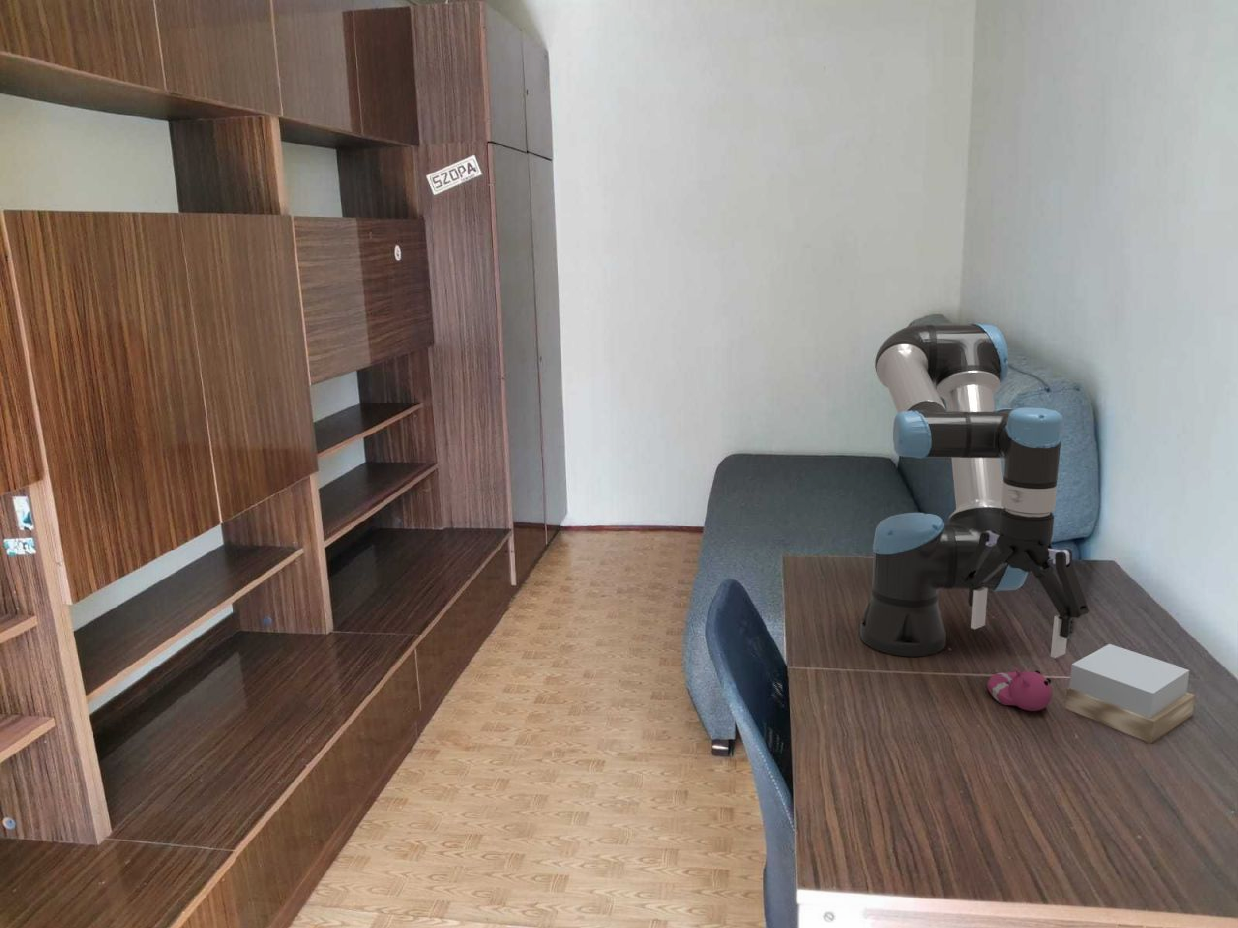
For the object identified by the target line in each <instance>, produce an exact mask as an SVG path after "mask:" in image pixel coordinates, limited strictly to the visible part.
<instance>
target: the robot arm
mask: <svg viewBox="0 0 1238 928" xmlns="http://www.w3.org/2000/svg"><path fill="white" fill-rule="evenodd" d="M1005 339H1006V338H1005V337H1004V335H1003V333H1002V331H1001V329H999V327H996V326H995V325H992V324H980V323H976V322H975V323H974V322H973V323H970V324H916V325H911V326H910V325H909V326H906V327H905V328H902V329H900V330H897V331H896V332H895V333H892V335H890V336H889V337H888V338H886V340H884V342H883V343H882V345H880V347H879V349H878V351H877V354H876V356H875V359H874V363H875V364H874V365H875V366H874V367H875V373H876V375H877V378H878V380H879V382H880V383H881V384H882V385H883V386H884V387H886V388H888V392H889V393H890V397H891V399H892V402H893V404H894V406H895V409H896V412H897V414H896V415H895V417H894V420H893V427H892V428H893V429H892V441H893V450H894V452H895V454H897V455H898V456H899V457H903V458H915V459H921V460H922V459H934V458H935V459H940V458H943V459H946V458H947V459H948V458H949V459H951V468H952V476H953V477H952V479H953V488H954V489H953V491H954V499H955V510H954V511H953V512H952V513H951V514H950V515H949V516H948V524H945V523H944V521H943V519H942V518H941V517H940V516H939V515H936V514H932V513H924V512H908V513H907V512H906V513H900V514H895V515H891V516H888V517H886V518H885V519H883V520H882V521H880V522H879V523H878V524H877V526H876V528H875V530H874V531H875V533H874V539H873V544H872V551H873V561H872V563H873V564H872V579H871V580H872V583H871V597H870V600H869V603H868V605H867V607H866V609H865V611H864V613H863V616H862V619H861V622H860V628H859V637H860V639H861V641H862V642H863V643H864V644H865V645H867V646H868V647H870V648H872V649H874V650H876V651H878V652H882V653H885V654H888V655H894V656H900V657H925V656H930V655H934V654H937V653H939V652H940V651H943V649H945V646H946V636H947V633H946V628H945V626H944V622H943V619H942V615H941V614H942V613H941V611H940V606H939V591H940V590H945V589H946V590H963V591H964V590H965V591H968V606H969V607H971V622H970V629H972V630H977V629H980V628H982V627H984V626H986V615H987V614H986V613H987V603H988V602H987V601H988V591H992V592H999V591H1016V590H1018V589H1020V588H1021V587H1022V586H1023V585H1024V583H1025V582H1026V581H1027V580H1026V579H1027V578H1028V575H1029V573H1030V572H1031V574H1032V575H1033V576H1034V578H1035V579H1038V581H1039V582H1040V584H1041V586H1042V588H1043V589H1044V591H1045V593H1046V594H1047V596H1048V598H1049V599H1050V601H1051V602H1052V604H1053V605H1054V607H1055V609H1056V611H1057V612H1058V614H1057V615H1054V618H1053V619H1054V620H1053V627H1052V628H1053V629H1052V638H1051V640H1052V641H1051V650H1050V657H1051V658H1054V659H1058V658H1059V657H1062V656H1063V655H1065V654H1066V649H1067V639H1069V638H1070V637H1072V635H1073V634H1074V626H1075V619H1078V618H1082V617H1083V616H1085V615H1087V614H1089V612H1090V610H1089V607H1088V605H1087V601H1086V599H1085V595H1084V593H1083V590H1082V587H1081V585H1080V582H1079V579H1078V576H1077V574H1076V571H1075V568H1074V565H1073V552H1072V550H1071V549H1069V548H1066V549H1063V550H1060V549H1055V548H1054V549H1053V546H1052V543H1051V541H1052V538H1053V535H1054V523H1055V515H1054V514H1053V512H1054V511H1055V510H1056V505H1057V504H1056V503H1057V502H1056V501H1057V490H1058V478H1059V468H1060V461H1061V460H1060V457H1061V451H1062V450H1061V449H1062V442H1063V438H1064V432H1063V417H1062V413H1060V412H1059V411H1057V410H1054V409H1049V408H1043V407H1033V406H1032V407H1029V406H1028V407H1018V408H1012V407H1000V408H997V409H995V400H994V394H995V393H996V392H997V391H998V390H999V389H1000V387H1001V383H1003V382H1004V381H1005V380H1006V377H1007V374H1008V370H1009V361H1008V359H1009V352H1008V346H1007V342H1006V340H1005ZM935 386H936V387H935ZM942 399H943V400H945V403H946V407H945V405H944V403H943V401H942ZM1002 459H1004V461H1003V462H1004V464H1003V466H1002ZM1002 467H1003V469H1002ZM1049 559H1052V564H1053V565H1055V568H1056V569H1055V570H1056V573H1057V575H1058V578H1059V579H1058V578H1057V576H1056V574H1055V573H1054V568H1053V566H1052V565H1051V563H1050V561H1049ZM1041 568H1042V569H1041Z"/></svg>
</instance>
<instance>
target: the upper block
mask: <svg viewBox="0 0 1238 928" xmlns="http://www.w3.org/2000/svg"><path fill="white" fill-rule="evenodd" d="M1070 667H1071V668H1070V674H1069V675H1070V676H1069V684H1068V687H1069V688H1070V689H1073V690H1076V691H1078V692H1081V693H1084V694H1086V695H1089V696H1091V697H1094V698H1097V699H1099V700H1102V701H1105V702H1107V703H1110V704H1112V705H1115V706H1118V707H1120V708H1123V709H1126V710H1128V711H1131V712H1133V713H1136V714H1139V715H1141V716H1144V717H1147V718H1149V719H1150V718H1151V717H1153V716H1154V715H1156V714H1157V713H1159V712H1160V711H1162V710H1163V709H1165V708H1166V707H1168V706H1169V705H1170V704H1172V703H1173V702H1175V701H1176V700H1178V699H1179V698H1181V697H1182V696H1184V695H1185V694H1186V692H1187V691H1188V689H1187V688H1188V681H1189V677H1190V676H1189V675H1190V669H1186V668H1185V667H1181V666H1178V665H1175V664H1172V663H1169V662H1166V661H1164V660H1160V659H1157V658H1154V657H1151V656H1147V655H1145V654H1143V653H1142V654H1141V653H1138V652H1136V651H1133V650H1130V649H1126V648H1124V647H1120V646H1117V645H1114V644H1111V643H1108V644H1106V645H1104V646H1103V647H1101V648H1099V649H1097V650H1096V651H1094V652H1092V653H1090V654H1089V655H1087V656H1084V657H1083V658H1081V659H1079V660H1077V661H1075V662H1073V663H1072V664H1071V666H1070Z"/></svg>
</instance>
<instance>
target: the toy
mask: <svg viewBox="0 0 1238 928" xmlns="http://www.w3.org/2000/svg"><path fill="white" fill-rule="evenodd" d="M1014 671H1015V672H1014ZM1014 671H1013V672H1011V671H1010V672H998V673H995V674H994V675H992V676H991V677H990V678H989V679H988V681H987V685H986V687H987V690H988V692H989V694H990V695H991V696H992V697H993V699H995V700H996V701H998V702H999V703H1000V704H1001V705H1004V706H1013V707H1015V706H1016V707H1018V708H1020V709H1021V710H1024V711H1027V712H1038V711H1041V710H1043V709H1046V707H1048V705H1049V703H1050V702H1051V701H1052V695H1053V690H1052V686H1051V683H1052V679H1051V678H1048V677H1045V676H1043V675H1042V674H1041V671H1039V670H1034V671H1031V670H1025V671H1022V672H1020V670H1019V669H1018V667H1017V666H1016V667H1014Z"/></svg>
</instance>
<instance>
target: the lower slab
mask: <svg viewBox="0 0 1238 928" xmlns="http://www.w3.org/2000/svg"><path fill="white" fill-rule="evenodd" d="M1065 692H1066V694H1065V701H1064V709H1065V710H1067V711H1071V712H1073V713H1076V714H1079V716H1080V715H1081V716H1082V717H1085V718H1088V719H1091V720H1093V721H1096V722H1098V723H1100V724H1102V725H1105V726H1108V727H1110V728H1112V729H1115V730H1118V731H1119V732H1122V733H1125V734H1126V735H1130V736H1132V737H1134V738H1136V739H1139V740H1141V741H1143V742H1144V741H1145V742H1146V743H1149V744H1152V743H1153V742H1155V741H1156V740H1158V739H1160V738H1161V737H1163V736H1164V735H1166V734H1167V733H1168V732H1170V731H1171V730H1173V729H1174V728H1176V727H1177V726H1179V725H1180V724H1183V722H1185V721H1186V720H1188V719H1190V718H1191V717H1192V716H1193V712H1194V706H1195V704H1194V703H1195V697H1196V695H1195V694H1193V693H1189V692H1188V691H1186V694H1185V695H1184V696H1182V697H1181V698H1179V699H1178V700H1176V701H1175V702H1173V703H1172V704H1170V705H1169V706H1168V707H1166V708H1165V709H1163V710H1162V711H1160V712H1159V713H1157V714H1156V715H1154V716H1153V717H1151V718H1150V719H1149V718H1147V717H1144V716H1141V715H1139V714H1136V713H1133V712H1131V711H1128V710H1126V709H1123V708H1120V707H1118V706H1115V705H1112V704H1110V703H1107V702H1105V701H1102V700H1099V699H1097V698H1094V697H1091V696H1089V695H1086V694H1084V693H1081V692H1078V691H1076V690H1073V689H1070V688H1069V686H1068V687H1066V691H1065Z"/></svg>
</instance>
